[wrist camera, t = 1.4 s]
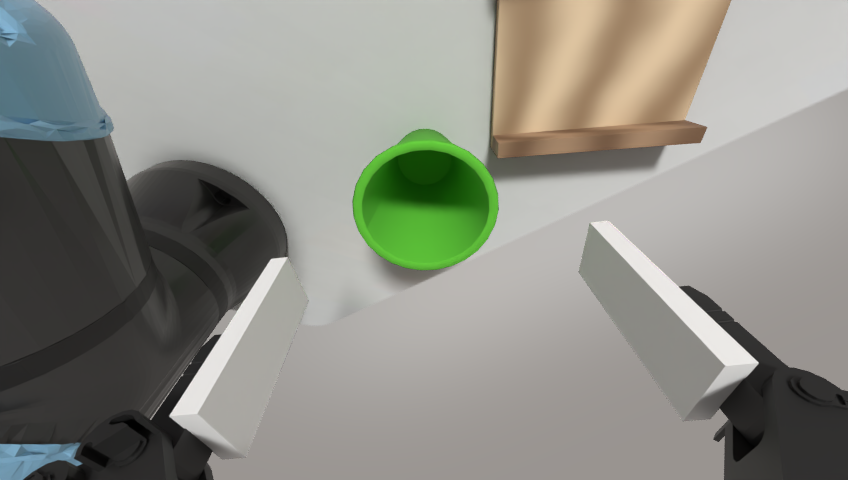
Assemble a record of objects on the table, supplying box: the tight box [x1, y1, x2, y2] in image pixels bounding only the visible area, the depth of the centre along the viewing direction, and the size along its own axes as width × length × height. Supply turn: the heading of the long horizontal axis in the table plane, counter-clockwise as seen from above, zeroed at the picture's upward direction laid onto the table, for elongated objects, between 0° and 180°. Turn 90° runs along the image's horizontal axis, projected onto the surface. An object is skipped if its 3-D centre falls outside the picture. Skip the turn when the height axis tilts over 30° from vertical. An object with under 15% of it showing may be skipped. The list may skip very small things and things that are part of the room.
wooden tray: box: [490, 0, 731, 158], centre depth 21 cm, size 16×14×3 cm
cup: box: [353, 129, 499, 270], centre depth 23 cm, size 9×9×11 cm
